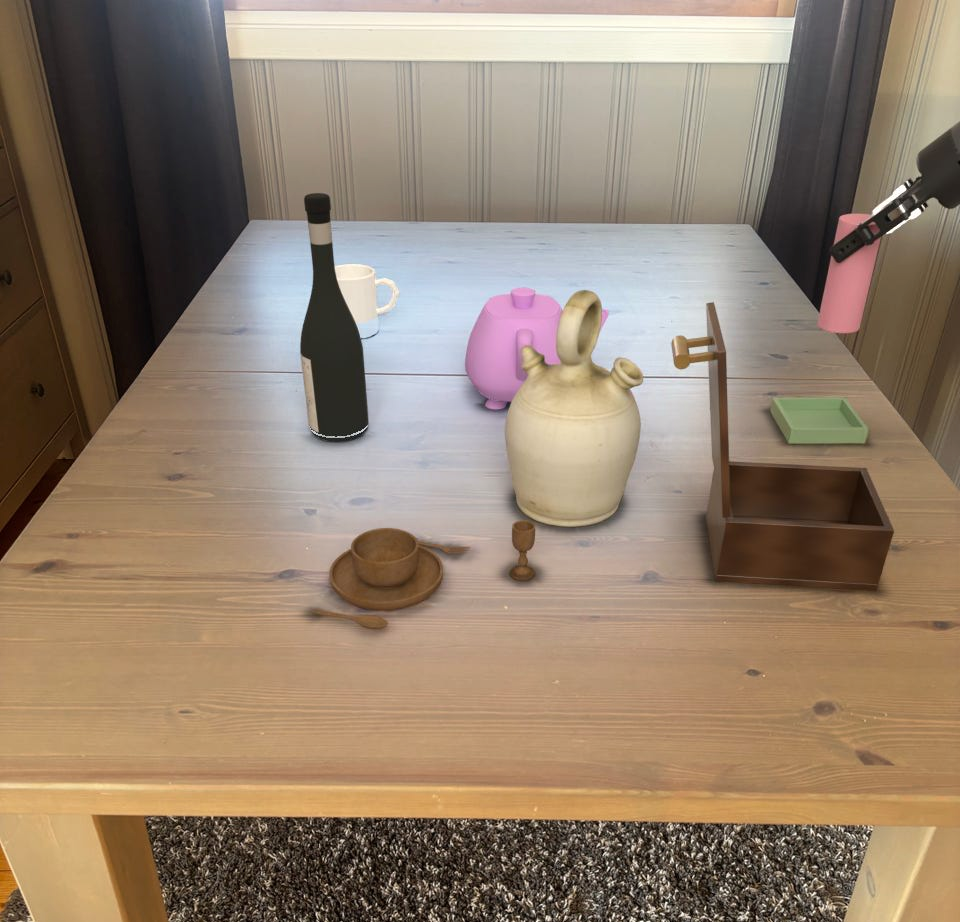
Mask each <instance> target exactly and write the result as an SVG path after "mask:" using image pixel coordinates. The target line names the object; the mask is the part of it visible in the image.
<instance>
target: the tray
mask: <svg viewBox="0 0 960 922" xmlns="http://www.w3.org/2000/svg"><path fill="white" fill-rule="evenodd" d="M769 412H770V414H771V416H772V418H773V419H774V421H775V423H776V424H777V427H778V428H779V430H780V431H781V433H782V435H783V436H784V438H785V441H786V442H787V444H788V445H789V444H792V445H793V444H803V445H805V444H806V445H807V444H815V445H817V444H826V445H827V444H831V445H832V444H866V441H867V438H868V435H869V430H870V429H869V427H868V426H867V424H866V423H865V422H864V421H863V419H862V418H861V416H860V415H859V413H858V412H857V410H855V408H854V407H853V406H852V404H851V403H850V402H849V400H848V399H847V398H846V397H844V396H843V397H772V399H771V405H770V410H769Z"/></svg>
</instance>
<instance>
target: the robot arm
mask: <svg viewBox="0 0 960 922" xmlns="http://www.w3.org/2000/svg"><path fill="white" fill-rule="evenodd" d="M915 158H916V160H915V163H916V167H917V170H918V172H919V173H920V175H918V176H917V177H915V180H913V179H912V177H909V178H908V179H906V180H905V181H904V182H902V183H901V184H900V185H899V186H898V187H896V189H895V190H893V192H892V193H890V195H887V196H886V198H884V199H883V200H881V202H880V203H879V204H878V205H877V206H876V207H874V208H873V209H872V210H871V212H870V213H869V215H871V217H869V218H868V219H867V220H865V221H864V222H863V223H860V224H858V225H857V227H856V228H855V230H853V231H852V232H851V233H849V234H848V235H847V236H845V237H844V238H842V239H841V240H840V241H838V242H837V243H836V244H834V243H833V245H832V246H831V247H830V248H829V251H828V252H829V254H830V255H831V256H832V257H833V258H834V260H835V261H836V262H837V263H841V262H842V261H844V260H845V259H847V258H848V257H849V256H851V255H852V254H854V253H855V252H856V251H858V250H859V249H861V248H862V247H863V246H865V245H866V246H868V245H872V244H873V243H874V241H876V240H877V239H879V238H880V237H881V238H882V237H883V236H884V235H890V234H892V233H893V232H895V231H896V230H897V229H899V228H900V227H902V226H903V225H904V224H906V223H907V222H908V221H910V220H914V219H916V218H917V217H919V216H920V215H921V214H922V213H924V212H925V210H926V209H927V208H929V207H930V205H929V203H928V201H929V200H931V199H935V200H937V202H938V204H939V205H941V206H942V207H943V208H945V209H947V210H953V209H955V208H957V207H958V206H960V120H959V121H958V122H956V123H955V124H953V126H951V127H950V128H948V129H947V130H946V131H945V132H943V133H942V134H941V135H939V136H938V137H936V139H934V140H933V141H932V142H930V143H929V144H927V145H926V146H925V147H924V148H922V149H921V150H920V151H919V152H918V153H917V154H916V157H915ZM872 222H875V224H876V225H877V227H878V228H879V230H880V231H879V232H877V233H876V234H875V235H874V234H873V233H872V231H871V230H870V228H869V227H868V225H869V224H870V223H872Z"/></svg>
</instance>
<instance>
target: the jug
mask: <svg viewBox="0 0 960 922" xmlns="http://www.w3.org/2000/svg"><path fill="white" fill-rule="evenodd" d="M602 309H603V305H602V301H601V299H600V297H599V296H598V295H597V294H596V293H595V292H593V291H592V290H589V289H581V290H578V291H576V292H574V293H573V294H572V295H570V297H569V298H568V300H567V301H566V304H565V305H564V307H563V308H562V310H563V311H562V314H561V317H560V321H559V325H558V329H557V337H556V351H557V355H558V358H559V359H560V361H561V363H560V364H553V365H549V364H547V363H546V362H545V356H544V355H543V354H541V353H538V352H537V351H536V350H535V349H534V348H533V347H531V346H530V345H525V346H524V347H523V348H522V350H521V354H522V359H523V364H522V366H521V368H522V370H524V371H526V372H527V379H526V380H525V382H524V383H523V384H522V385H521V387H520V388H519V390H518V391H517V393H516V395H515V396H514V398H513V400H512V402H511V401H510V405H509V408H508V410H507V414H506V419H505V425H504V440H505V447H506V454H507V459H508V460H507V461H508V466H509V472H510V476H511V477H510V479H511V484H512V488H513V491H514V495H515V498H516V499H515V500H516V504H517V506H518V508H519V510H520V511H521V512H522V513H523V514H524V515H525V516H526V517H527V518H530V519H531V520H534V521H536V522H538V523H542V524H545V525H549V526H550V525H551V526H556V527H561V528H562V527H564V528H575V527H578V528H579V527H585V526H591V525H596V524H599V523H602V522H604V521H605V520H607V519H609V518H611V517H612V516H613V515H614V514H615V513H616V511H617V510H618V508H619V505H620V502H621V500H622V498H623V495H624V492H625V489H626V486H627V484H628V483H627V482H628V480H629V477H630V475H631V473H632V470H633V467H634V463H635V461H636V456H637V452H638V448H639V444H640V438H641V426H642V421H641V414H640V410H639V407H638V403H637V401H636V399H635V395H634V394H633V392H632V390H631V389H633V388H634V387H638V386H641V385H642V384H643V383H644V374H643V372H642V370H641V369H640V368H639V366H637V364H636V363H634V362H633V361H632V360H630V359H629V358H627V357H621V356H620V357H616V358H615V359H614V361H613V367H612V368H611V370H608V369H606V368H604V367H603V366H600V365H598V364H596V363H595V362H594V361H593V359H592V354H593V352H594V350H595V348H596V345H597V343H598V340H599V336H600V334H601V333H600V332H601V331H600V328H601V322H602Z"/></svg>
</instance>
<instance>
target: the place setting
mask: <svg viewBox="0 0 960 922" xmlns="http://www.w3.org/2000/svg"><path fill="white" fill-rule="evenodd" d="M535 542H536V524H535V523H534V522H532V521H530V520H525V519H523V520H517V521H514V522H513V523H512V525H511V544H512V546H513V548H514V549H515V550H516V551H518V554H519V555H518V558H517V565H515V566H512V567H511V568H510V569H509V573H508V574H509V576H510V577H511V578H512V579H514V580H516V581H520V582H523V581H530V580H532V579H533V578H534V577H535V576H536V572H537V571H536V570H535V569H534V568H533V567H532V566H530V565H528V562H529V559H528V556H527V555H528V551H531V550H532V549H533V548H534V546H535ZM428 547H431V548H437V549H440V550H442V551H443V552H444V553H446V554H466V553H468V551H470V548H471V546H444V545H441V544H436V543H429V542H426V541H425V542H424V541H419V540H418V539H417V538H416V536H415V535H414V534H412V533H410V532H409V531H407V530H404V529H400V528H394V527H380V528H374V529H370V530H366V531H364V532H363V533H361V534H359V535H358V536H357V537H355V538H354V539H353V541H352V542H351V545H350V548H349V549H348V550H346V551H344V552H343V553H341V554H340V555H339V556H337V558H335V560H334V561H333V562H332V563H331V566H330V568H329V571H328V576H329V583H330V585H331V587H332V589H333V591H334V592H335V594H336V596H338V597H339V598H340V599H341V600H343V601H344V602H346V603H348V604H350V605H352V606H355V607H357V608H361V609H364V610H370V611H378V612H379V611H380V612H382V611H383V612H384V611H385V612H387V611H397V610H403V609H406V608H409V607H413V606H416V605H418V604H420V603H423V602H424V601H425V600H427V599H429V598H430V597H431V596H432V595H433V594H434V593H435V592H436V591H437V590H438V589H439V588H440V585H441V583H442V580H443V578H444V565H443V562H442V560H441V558H440V557H439V556H438V555H437V554H436V553H435V552H434V551H432V550H431V549H429V548H428ZM310 612H311V613H313V614H315V615H321V616H327V617H335V618H339V619H340V618H341V619H347V620H351V621H355V622H356V623H358V625H360V626H362V627H364V628H367V629H381V628H385V627H386V626H387V625H388V623H389V621H388V620H387V619H385V618H383V617H382V616H379V615H363V616H356V615H350V614H345V613H344V614H343V613H338V612H334V611H329V610H321V609H312V610H311V611H310Z"/></svg>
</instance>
